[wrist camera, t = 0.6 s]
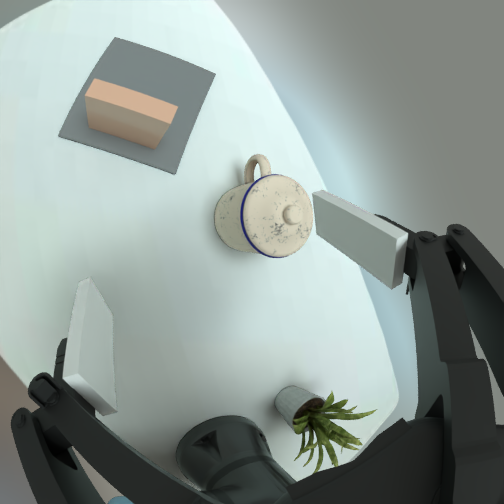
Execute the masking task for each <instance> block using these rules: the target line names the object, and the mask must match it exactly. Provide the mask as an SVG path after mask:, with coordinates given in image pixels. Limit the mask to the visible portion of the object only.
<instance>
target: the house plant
mask: <svg viewBox="0 0 504 504" xmlns="http://www.w3.org/2000/svg"><path fill="white" fill-rule="evenodd" d="M347 401H348V400H342V401H340V402H337V403H335V404H333V405H331V404H332V403H333V402H334V395H333V392H332V393H331V394H330V395H329V397H328V398H327V400H325V399H324V398H323V397H320V396H318V395H315V394H313V393H310V392H308V391H305V390H303V389H300V388H298V387H296V386H289V387H287V388H285V389H283V390H282V391H281V392H280V393H279V394H278V395H277V397H276V399H275V406H276V408H277V410H278V411H279V412H280V414H281V415H282V416H283V418H284V419H285V420H286V422H287V423H288V424H289V426H290V427H291V428H292V429H293V430H294V431H295V433H296V434H301V433H302V445H301V449H300V452H299V455H298V456H297V457H296V458H295V460H296V459H297V458H299V457H300V455H301V454H302V453H304V452H306V451H308V450H309V449H311V453H310V457H309V459H308V461H307V462H306V464H305V465H307V464H308V463H309V462H310V460H311V459H312V457H313V453H314V448H315V447H316V446H317V444H318V447H319V459H318V463H317V467H316V469H315V471H314V473H316V472H317V471H318V470H319V469H320V466H321V464H322V460H323V449H322V445H324V446H325V448H326V450H327V452H328V455H329V457H330V459H331V461H332V465H333V464H334V466H335V467H336V466H338V460H337V457H336V454H335V451H334V449H333V446H332V444H331V443H330V442H329V439H330V440H332V441H335V442H336V443H337V444H339V445H340V446H342V448H343V447H345V448H348V449H352V450H359V449H357V448H355V447H353V446H351V445H349V444H347V443H351V444H355V445H362V443H361V442H360V441H359V440H358V439H360V438H355V437H354V436H352V435H351V434H350V433H348V432H347V431H346V430H345V429H343V428H342V427H340V426H337V425H336V424H335V423H333V422H331V421H330V419H340V420H355V419H360V418H363V417H365V416H368V415H370V414H372V413H373V412H375V411H376V410H377V409H376V410H373V411H370V412H366V413H359V414H345V413H353V412H351V411H352V410H354V409H355V408H356V407H357V406H356V407H353V408H351V409H349V410H345V409H341V408H342V407H343V406H344V405H345V404H346V403H347ZM325 412H339V413H325ZM313 430H314V431H315V433H316V437H317V442H316V443H315V444H313V440H314V432H313ZM307 431H309V441H308V444H307V445H306V447H305V448H304V446H305V432H307ZM321 444H322V445H321ZM341 452H342V450H341ZM295 460H294V461H295ZM305 465H304V466H305ZM304 466H303V467H304ZM314 473H313V474H314Z"/></svg>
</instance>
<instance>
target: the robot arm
mask: <svg viewBox="0 0 504 504" xmlns="http://www.w3.org/2000/svg"><path fill="white" fill-rule="evenodd" d="M312 196H313V205H314V214H315V223H316V233H317V235H318V236H320V237H321V238H323V239H324V240H325V241H327V242H328V243H330V244H331V245H332V246H334V247H335V248H337V249H338V250H339V251H341V252H342V253H343V254H345V255H346V256H348V257H349V258H350V259H352V260H353V261H354V262H356V263H357V264H358V265H360V266H361V267H363V268H364V269H365V270H367V271H368V272H369V273H370V274H372V275H373V276H374V277H376V278H377V279H378V280H380V281H381V282H383V283H384V284H385V285H386V286H387V287H389V288H390V289H393V288H395V287H396V286H398V285H400V284H401V283H402V280H403V273H405V274H407V275H408V276H409V278H408V284H407V290H406V294H408V292H410V298H411V305H412V313H413V321H414V330H415V340H416V353H417V368H418V406H417V410H416V414H415V419H413V420H411V421H407V422H406V421H405V420H404V419H403V418H401V419H400V420H399V421H397V422H396V423H394V424H393V425H392V426H390V427H389V428H388V429H386V430H385V431H383V432H382V433H381V434H379V435H378V436H377V437H376V438H375V439H374V440H373V441H372V442H371V443H370V444H369V445H368V447H367V448H366V449H365V450H364V451H363V452H362V453H361V454H360V455H359V456H358V457H357V458H356V459H355V460H353V461H352V462H349V463H346V464H343V465H340V466H336V467H333V468H330V469H326V470H323V471H319V472H316V473H314V474H312V475H310V476H308V477H306V478H304V479H302V480H300V481H298V482H296V481H295V480H294V479H293V478H292V477H291V476H290V475H289V474H288V473H287V472H286V471H285V470H284V469H283V468H282V467H281V466H280V465H279V464H278V463H277V462H276V461H275V460H274V459H273V458H272V455H271V452H270V449H269V447H268V444H267V442H266V438H265V436H264V434H263V432H262V431H261V430H260V429H259V428H258V427H257V426H256V425H255V424H254V423H253V422H252V421H250V420H249V419H246V418H244V417H240V416H223V417H217V418H214V419H211V420H208V421H206V422H203V423H201V424H199V425H198V426H196V427H195V428H193V429H192V430H191V431H189V432H188V433H187V434H186V435H185V436H184V438H183V439H182V440H181V442H180V443H179V445H178V448H177V452H176V459H177V463H178V465H179V467H180V469H181V471H182V473H183V474H184V475H185V477H186V478H187V479H189V480H190V481H191V482H193V483H194V484H195V485H196V486H197V487H198V488H199V489H200V490H202V491H198V490H196V489H195V488H193V487H191V486H189V485H188V484H186V483H184V482H183V481H181V480H179V479H178V478H176V477H174V476H173V475H171V474H170V473H168V472H166V471H165V470H163V469H162V468H160V467H159V466H157V465H156V464H154V463H153V462H152V461H150V460H149V459H147V458H146V457H144V456H143V455H142V454H140V453H139V452H138V451H136V450H135V449H134V448H132V447H131V446H130V445H128V444H127V443H126V442H125V441H123V440H122V439H121V438H120V437H118V436H117V435H116V434H115V433H113V432H112V431H111V430H110V429H109V428H108V427H106V426H105V425H104V424H103V423H102V422H101V421H100V420H98V419H97V418H96V417H95V410H97V411H98V412H99V413H100V414H101V415H102V416H105V415H108V414H112V413H116V412H118V411H117V401H116V389H115V375H114V352H113V314H112V312H111V311H110V309H109V307H108V306H107V304H106V302H105V301H104V299H103V297H102V296H101V294H100V292H99V291H98V289H97V287H96V285H95V284H94V282H93V280H92V278H91V277H89V278H86V279H84V280H82V281H79V284H78V288H77V292H76V297H75V301H74V306H73V311H72V316H71V321H70V327H69V333H68V338H65V339H63V340H62V341H61V343H60V345H59V347H58V349H57V356H56V357H57V358H56V362H55V364H56V365H55V369H54V377H53V378H52V376H51V375H50V374H48V373H40V374H38V375H37V376H35V377H34V378H33V380H32V381H31V382H30V385H29V388H28V395H29V397H30V398H31V399H32V400H33V401H34V402H35V403H36V404H38V405H39V406H40V408H39V409H37V410H36V411H34V412H32V413H31V412H30V411H29V410H28V409H26V408H20V409H18V410H17V411H16V412H15V413H14V414H13V416H12V420H11V429H12V433H13V437H14V440H15V444H16V447H17V450H18V454H19V457H20V460H21V463H22V465H23V469H24V471H25V474H26V477H27V479H28V482H29V484H30V487H31V489H32V492H33V494H34V496H35V499H36V501H37V503H38V504H105V502H104V501H103V499H102V498H101V497H100V495H99V493H98V492H97V490H96V489H95V487H94V486H93V484H92V482H91V481H90V479H89V478H88V476H87V474H86V473H85V471H84V469H83V467H82V466H81V464H80V462H79V460H78V458H77V457H76V455H75V453H74V451H73V449H72V447H71V446H74V448H75V449H76V450H77V451H78V452H79V453H80V454H81V455H82V456H83V458H84V459H85V460H86V461H87V462H88V463H89V464H90V465H91V466H92V467H93V468H94V469H95V470H96V471H97V472H98V473H99V474H100V475H102V476H103V478H105V479H106V480H107V481H108V482H109V483H110V484H111V485H112V486H113V487H114V488H116V489H117V490H118V491H119V492H120V493H121V494H123V495H124V496H118V497H114V498H112V499H111V500H110V501H109V502H108V504H504V425H496V422H495V412H494V403H493V396H492V389H491V382H490V377H489V371H488V367H487V363H486V361H485V360H484V359H478V358H477V356H476V352H475V347H474V343H473V338H472V334H471V330H470V327H471V328H472V330H473V332H474V334H475V336H476V338H477V340H478V342H479V344H480V346H481V348H482V350H483V352H484V354H485V357H486V359H487V361H488V363H489V365H490V367H491V370H492V372H493V374H494V377H495V379H496V381H497V383H498V386H499V388H500V390H501V392H502V394H503V396H504V269H503V267H502V266H501V265H500V264H499V263H498V261H497V260H496V259H495V258H494V257H493V256H492V255H491V253H490V252H489V251H488V250H487V249H486V248H485V247H484V245H482V243H481V242H480V241H479V240H478V239H477V238H476V237H475V236H474V235H473V234H472V233H471V232H470V230H468V229H467V228H466V227H464V226H462V225H460V224H452V225H449V226H448V227H447V233H446V235H443V236H437V235H436V234H434V233H432V232H428V231H420V232H417V233H414V232H413V231H411V230H409V229H407V228H405V227H403V226H401V225H399V224H397V223H396V222H394V221H391V220H390V219H388V218H386V217H384V216H381V215H376V214H374V215H373V214H372V213H370V212H367V211H365V210H363V209H361V208H360V207H357V206H356V205H354V204H352V203H350V202H348V201H345V200H343V199H341V198H339V197H337V196H335V195H333V194H331V193H329V192H327V191H324V190H321V191H318V192H314V193H312ZM464 263H465V267H466V270H465V269H464V268H463V264H464ZM469 325H470V326H469Z"/></svg>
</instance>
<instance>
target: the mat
mask: <svg viewBox="0 0 504 504" xmlns="http://www.w3.org/2000/svg"><path fill="white" fill-rule="evenodd" d="M215 75H216V74H215V73H212V72H210V71H208V70H206V69H203V68H201V67H199V66H196V65H194V64H192V63H189V62H187V61H184V60H182V59H179V58H176V57H174V56H171V55H169V54H166V53H163V52H160V51H158V50H155V49H152V48H149V47H146V46H143V45H140V44H137V43H133V42H130V41H127V40H123V39H120V38H116V37H115V38H114V39H113V40H112V42H111V43H110V45H109V46H108V48H107V49H106V50H105V52H104V53H103V55H102V56H101V58H100V59H99V61H98V62H97V64H96V66H95V67H94V69H93V70H92V72H91V74H90V75H89V77H88V79H87V80H86V82H85V84H84V85H83V87H82V89H81V91H80V93H79V94H78V96H77V98H76V100H75V102H74V104H73V106H72V107H71V109H70V111H69V113H68V115H67V117H66V120H65V122H64V124H63V126H62V128H61V130H60V132H59V135H58V136H59V137H62V138H65V139H69V140H72V141H75V142H79V143H82V144H85V145H88V146H91V147H95V148H98V149H101V150H104V151H107V152H110V153H113V154H116V155H120V156H123V157H126V158H129V159H132V160H135V161H137V162H140V163H143V164H146V165H149V166H152V167H155V168H158V169H161V170H163V171H166V172H169V173H172V174H176V171H177V169H178V166H179V163H180V160H181V158H182V155H183V152H184V149H185V147H186V144H187V142H188V139H189V136H190V134H191V131H192V129H193V126H194V124H195V121H196V119H197V116H198V114H199V111H200V109H201V107H202V104H203V102H204V100H205V97H206V95H207V93H208V91H209V88H210V86H211V84H212V82H213V79H214V77H215ZM94 78H95V79H99V80H102V81H105V82H109V83H112V84H115V85H118V86H122V87H125V88H128V89H131V90H134V91H137V92H140V93H143V94H145V95H148V96H151V97H154V98H157V99H159V100H162V101H165V102H167V103H170V104H173V105H175V106H178V108H177V111H176V113H175V115H174V118H173V120H172V122H171V124H170V126H169V128H168V129H167V131H166V132H165V134H164V136H163V137H162V139H161V140H160V142H159V144H158V145H157V147H156V149H155V150H154V149H151V148H149V147H146V146H143V145H140V144H137V143H134V142H131V141H128V140H125V139H122V138H119V137H116V136H113V135H110V134H107V133H104V132H101V131H97V130H94V129H91V128H89V125H88V118H87V111H86V102H85V94H86V92H87V90H88V89H89V87H90V85H91V83H92V82H93V80H94Z"/></svg>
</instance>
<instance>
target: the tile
mask: <svg viewBox="0 0 504 504" xmlns="http://www.w3.org/2000/svg"><path fill="white" fill-rule="evenodd" d="M85 102H86V111H87V118H88V125H89V128H91V129H94V130H97V131H101V132H104V133H107V134H110V135H113V136H116V137H119V138H122V139H125V140H128V141H131V142H134V143H137V144H140V145H143V146H146V147H149V148H151V149H154V150H155V149H156V147H157V145H158V144H159V142H160V140H161V139H162V137H163V136H164V134H165V132H166V131H167V129H168V128H169V126H170V124H171V122H172V120H173V118H174V115H175V113H176V111H177V108H178V106H175V105H173V104H170V103H167V102H165V101H162V100H159V99H157V98H154V97H151V96H148V95H145V94H143V93H140V92H137V91H134V90H131V89H128V88H125V87H122V86H118V85H115V84H112V83H109V82H105V81H102V80H99V79H95V78H94V80H93V82H92V83H91V85H90V87H89V89H88V90H87V92H86V94H85Z"/></svg>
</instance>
